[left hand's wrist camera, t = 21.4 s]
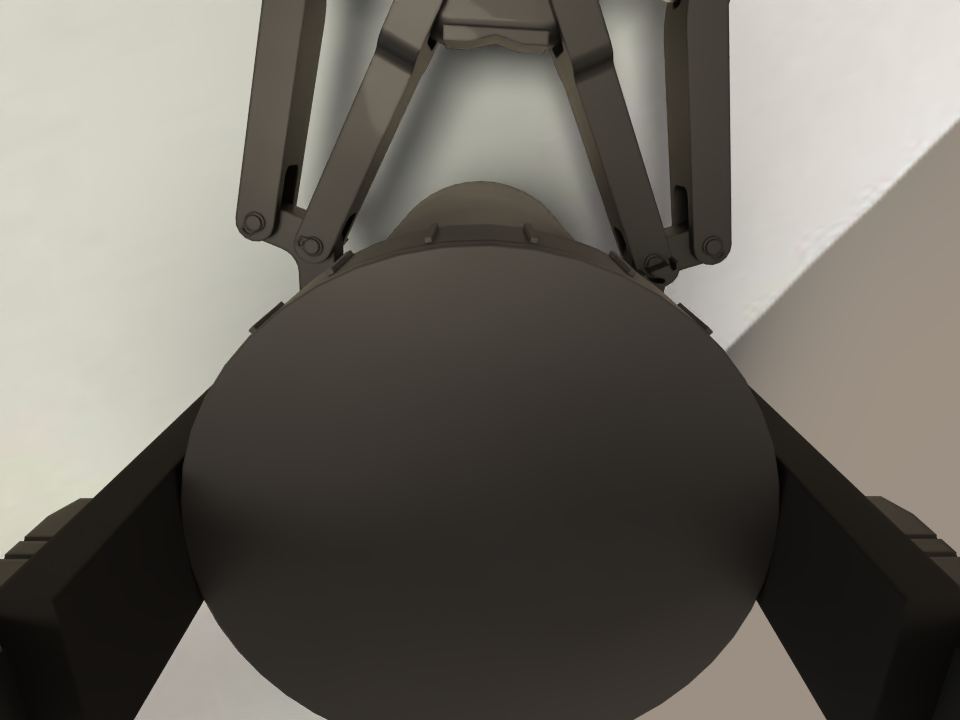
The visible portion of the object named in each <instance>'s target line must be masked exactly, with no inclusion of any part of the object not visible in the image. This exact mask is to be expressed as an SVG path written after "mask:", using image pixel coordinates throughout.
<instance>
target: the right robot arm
mask: <svg viewBox="0 0 960 720" xmlns="http://www.w3.org/2000/svg"><path fill="white" fill-rule="evenodd" d="M663 1H665V2H667V7H666V13H665V22H664V55H665V78H666V101H667V124H668V146H669V169H670V192H671V215H672V226H671V227H667V228H663V224H662V221H661V218H660V215H659V211H658V208H657V205H656V202H655V198H654V195H653V192H652V188H651V185H650V182H649V179H648V175H647V172H646V169H645V165H644V162H643V159H642V156H641V152H640V149H639V146H638V143H637V139H636V136H635V133H634V129H633V126H632V123H631V120H630V116H629V113H628V110H627V106H626V103H625V100H624V97H623V93H622V90H621V87H620V84H619V80H618V77H617V74H616V70H615V67H614V62H613V49H612V45H611V41H610V37H609V34H608V31H607V27H606V24H605V21H604V18H603V14H602V11H601V8H600V4H599V0H394V1H393V3H392V5H391V8H390V10H389V12H388V15H387V17H386V19H385V22H384V24H383V26H382V29H381V31H380V34H379V37H378V42H377V47H376V51H375V53H374V56H373V58H372V60H371V63H370V65H369V67H368V70H367V72H366V74H365V77H364V79H363V81H362V83H361V86H360V88H359V90H358V93H357V95H356V97H355V100H354V102H353V104H352V107H351V109H350V111H349V114H348V116H347V118H346V120H345V123H344V125H343V127H342V130H341V132H340V134H339V137H338V139H337V141H336V144H335V146H334V148H333V150H332V153H331V155H330V157H329V160H328V162H327V164H326V167H325V169H324V171H323V174H322V176H321V178H320V181H319V183H318V185H317V187H316V190H315V192H314V194H313V197H312V199H311V201H310V204H309V206H308V208H307V210H304V209H302V208H300V207H297V206H296V204H297V198H298V192H299V185H300V179H301V172H302V166H303V159H304V153H305V146H306V140H307V133H308V127H309V120H310V114H311V107H312V101H313V94H314V88H315V82H316V75H317V69H318V62H319V56H320V49H321V43H322V36H323V30H324V23H325V14H326V0H262V7H261V16H260V24H259V32H258V40H257V48H256V56H255V64H254V73H253V81H252V89H251V97H250V105H249V113H248V121H247V129H246V138H245V146H244V154H243V162H242V170H241V178H240V186H239V195H238V203H237V211H236V226H237V228H238V230H239V232H240V233H241V234H242V235H243V236H244V237H245V238H247V239H249V240H251V241H264V242H267V243H269V244H272V245H274V246H277V247H279V248H282V249H284V250H285V251H287V252H288V253H290V254H291V255H292V256H293V258H294V259H295V260H296V263H297V265H298V269H299V284H300V291H301V290H302V289H303V288H304V287H305V286H306V285H307V284H309V283H310V282H311V281H312V280H313V279H314V278H316V277H317V276H319V275H320V274H322V273H323V272H325V271H326V270H327V269H328V268H329V267H330V266H331V265H333V264H334V263H335V262H336V261H337V260H338V259H339V258H340V257H341V256H342V255H343V245H344V244H345V243H346V242H347V241H348V238H347V236H348V234H349V232H350V230H351V228H352V225H353V223H354V221H355V219H356V217H357V214H358V212H359V210H360V208H361V206H362V204H363V201H364V199H365V197H366V195H367V193H368V191H369V188H370V186H371V184H372V182H373V180H374V178H375V175H376V173H377V171H378V169H379V167H380V165H381V162H382V160H383V158H384V156H385V154H386V152H387V149H388V147H389V145H390V143H391V141H392V139H393V136H394V134H395V132H396V130H397V128H398V126H399V123H400V121H401V119H402V117H403V115H404V113H405V110H406V108H407V106H408V104H409V102H410V100H411V97H412V95H413V93H414V91H415V89H416V87H417V84H418V82H419V80H420V78H421V76H422V75H423V73H424V72H425V70H426V68H427V66H428V64H429V62H430V60H431V58H432V56H433V54H434V52H435V49H436V47H437V45H438V43H441V44H444V45H445V46H446V48H450V49H467V50H471V49H475V48H479V47H483V46H487V45H492V44H497V45H500V46H502V47H505V48H508V49H511V50H513V51H516V52H519V53H536V54H542V53H543V52H544V51H545V50H549V49H550V51H551V54H552V57H553V60H554V63H555V66H556V69H557V72H558V75H559V77H560V79H561V81H562V83H563V85H564V87H565V90H566V92H567V95H568V98H569V101H570V104H571V107H572V110H573V113H574V116H575V119H576V122H577V125H578V128H579V131H580V134H581V137H582V140H583V143H584V146H585V149H586V152H587V155H588V158H589V161H590V164H591V167H592V170H593V173H594V176H595V179H596V182H597V185H598V188H599V191H600V194H601V197H602V200H603V203H604V206H605V209H606V212H607V215H608V218H609V222H610V225H611V228H612V231H613V234H614V237H615V240H616V243H617V246H618V249H619V252H620V255H621V257H622V259H623V260H624V261H625V262H626V263H627V264H629V265H630V266H631V267H632V268H633V269H634V270H635V271H636V272H637V273H639V274H640V275H641V276H643V277H644V278H645V279H647V280H648V281H649V282H651V283H652V284H653V285H655V286H656V287H657V288H658V289H660V290H661V291H662V292H663V293H664V288H665V286H667V285H669V284H670V283H672V282H673V281H674V280H675V279H676V277H677V276H678V273H679V271H680V270H683V269H686V268H689V267H693V266H696V265H699V264H703V263H704V264H706V265H714V264H717V263H720V262H721V261H723V260H724V259H725V258H726V257H727V255H728V254H729V252H730V249H731V244H732V243H731V157H730V71H729V2H730V0H663Z"/></svg>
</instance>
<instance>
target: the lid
mask: <svg viewBox="0 0 960 720" xmlns="http://www.w3.org/2000/svg"><path fill="white" fill-rule="evenodd" d="M249 332H251V333H252V334H251V335H250V336H249V337H248V338H247V339H246V341H245V342H244V343H243V344H242V345H241V347H240V348H239V349H238V350H237V351H236V352H235V354H234V355H233V356H232V357H231V358H230V360H229V361H228V362H227V363H226V364H225V366H224V367H223V369H222V370H221V372H220V374H219V375H218V377H217V379H216V380H215V382H214V384H213V385H212V387H211V388H210V390H209V392H208V393H207V395H206V397H205V399H204V401H203V403H202V406H201V408H200V411H199V413H198V416H197V418H196V420H195V423H194V425H193V428H192V430H191V433H190V438H189V442H188V446H187V450H186V454H185V459H184V463H183V470H182V483H181V496H180V505H181V517H182V526H183V532H184V537H185V542H186V547H187V552H188V557H189V562H190V567H191V569H192V572H193V574H194V577H195V579H196V582H197V584H198V587H199V589H200V592H201V594H202V597H203V599H204V600H205V602H206V604H207V606H208V607H209V609H210V611H211V613H212V614H213V616H214V618H215V620H216V622H217V623H218V625H219V626H220V628H221V629H222V630H223V632H224V633H225V634H226V636H227V637H228V638H229V640H230V641H231V642H232V644H233V645H234V646H235V648H236V649H237V650H238V651H239V652H240V654H241V655H242V656H243V657H244V658H245V659H246V660H247V661H248V662H249V663H250V664H251V665H252V666H253V667H254V668H255V669H256V670H257V671H258V672H259V673H260V674H261V675H262V676H263V677H265V678H266V679H267V680H268V681H270V682H271V683H272V684H273V685H274V686H276V687H277V688H278V689H279V690H281V691H282V692H283V693H284V694H286V695H287V696H289V697H290V698H292V699H293V700H295V701H296V702H298V703H299V704H301V705H303V706H304V707H306V708H307V709H309V710H310V711H312V712H314V713H315V714H317V715H319V716H321V717H323V718H325V719H327V720H634V719H636V718H637V717H639V716H641V715H643V714H644V713H646V712H648V711H650V710H651V709H653V708H655V707H657V706H658V705H660V704H662V703H663V702H665V701H666V700H667V699H669V698H670V697H671V696H673V695H674V694H676V693H677V692H678V691H680V690H681V689H682V688H684V687H685V686H687V685H688V684H689V683H690V682H691V681H692V680H693V679H695V678H696V677H697V676H698V675H699V674H700V673H701V672H702V671H703V670H704V669H705V668H706V667H708V666H709V665H710V664H711V663H712V662H713V661H714V660H715V658H716V657H717V656H718V655H719V654H720V652H721V651H722V650H723V649H724V648H725V647H726V645H727V644H728V643H729V642H730V641H731V640H732V638H733V637H734V636H735V634H736V632H737V631H738V629H739V628H740V626H741V625H742V623H743V622H744V620H745V619H746V617H747V616H748V614H749V613H750V611H751V609H752V607H753V605H754V603H755V601H756V599H757V597H758V594H759V592H760V590H761V588H762V586H763V584H764V582H765V579H766V576H767V573H768V569H769V566H770V563H771V559H772V555H773V550H774V545H775V539H776V534H777V529H778V523H779V517H780V483H779V475H778V469H777V463H776V457H775V451H774V446H773V443H772V440H771V437H770V434H769V431H768V428H767V425H766V422H765V419H764V416H763V413H762V411H761V409H760V407H759V405H758V403H757V401H756V399H755V397H754V395H753V393H752V391H751V390H750V388H749V386H748V384H747V382H746V380H745V378H744V377H743V376H742V374H741V373H740V372H739V370H738V369H737V368H736V366H735V365H734V364H733V362H732V361H731V359H730V358H729V357H728V355H727V354H726V353H725V351H724V350H723V349H722V348H721V347H720V346H719V345H718V343H717V342H716V341H715V340H714V339H713V338H712V337H711V336H710V334H711V333H713V331H712V330H711V329H710V328H709V327H708V326H707V325H706V324H704V323H703V322H702V321H701V320H700V319H699V318H697V317H696V316H695V315H694V314H693V313H692V312H690V311H689V310H688V309H687V308H686V307H685V306H683V305H682V304H681V303H679V304H678V305H677V304H675V303H674V302H673V301H672V300H671V299H670V298H669V297H668V296H666V295H665V294H664V293H663V292H662V291H661V290H660V289H658V288H657V287H656V286H655V285H653V284H652V283H651V282H649V281H648V280H647V279H645V278H644V277H643V276H641V275H640V274H639V273H637V272H636V271H635V270H634V269H633V268H632V267H631V266H630V265H629V264H627V263H626V262H625V261H624V260H623V259H622V258H621V257H620V256H619V255H617V254H616V253H615V252H613V251H611V252H610V254H609V255H607V254H605V253H604V252H602V251H600V250H598V249H596V248H593V247H590V246H588V245H585V244H582V243H580V242H577V241H575V240H572V239H569V238H567V237H564V236H560V235H556V234H552V233H548V232H543V231H539V230H535V229H533V227H532V226H531V224H529V223H524V227H515V226H505V225H494V224H474V225H450V226H444V227H438V223H432V224H431V226H430V227H429V229H426V230H421V231H415V232H411V233H408V234H405V235H401V236H398V237H395V238H392V239H389V240H385V241H382V242H379V243H376V244H374V245H372V246H370V247H368V248H366V249H364V250H362V251H359V252H357V253H355V254H353V253H352V251H351V250H350V251H348V252H346V253H345V254H344V255H342V256H341V257H340V258H339V259H338V260H337V261H336V262H335V263H334V264H333V265H331V266H330V267H329V268H328V269H327V270H326V271H325V272H323V273H322V274H320V275H319V276H317V277H316V278H314V279H313V280H312V281H311V282H310V283H309V284H307V285H306V286H305V287H304V288H303V289H302V290H301V291H299V292H298V293H297V294H296V295H295V296H294V297H293V298H291V299H290V300H289V301H288V302H287V303H286V304H284V303H283V302H280V303H279V304H278V305H277V306H276V307H274V308H273V309H272V310H271V311H270V312H269V313H267V314H266V315H265V316H264V317H263V318H262V319H260V320H259V321H258V322H257V323H256V324H255V325H253V326H252V327H251V328H250V330H249Z"/></svg>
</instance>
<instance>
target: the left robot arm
mask: <svg viewBox="0 0 960 720" xmlns="http://www.w3.org/2000/svg"><path fill="white" fill-rule="evenodd" d="M748 386H749V385H748ZM211 387H212V386H211ZM211 387H210V388H211ZM210 388H209V389H208V390H206V391H205V392H204V393H203V394H202V395H201V396H200V397H199V398H198V399H197V400H196V401H195V402H194V403H193V404H192V405H191V406H190V407H189V408H188V409H186V410H185V411H184V412H183V413H182V414H181V415H180V416H179V417H178V418H177V419H176V420H175V421H174V422H173V423H172V424H171V425H170V426H169V427H168V428H166V429H165V430H164V431H163V432H162V433H161V434H160V435H159V436H158V437H157V438H156V439H155V440H154V441H153V442H152V443H151V444H150V445H149V446H148V447H146V448H145V449H144V450H143V451H142V452H141V453H140V454H139V455H138V456H137V457H136V458H135V459H134V460H133V461H132V462H131V463H130V464H129V465H128V466H127V467H125V468H124V469H123V470H122V471H121V472H120V473H119V474H118V475H117V476H116V477H115V478H114V479H113V480H112V481H111V482H110V483H109V484H108V485H107V486H105V487H104V488H103V489H102V490H101V491H100V492H99V493H98V494H97V495H96V496H95V497H94V498H80V499H78V500H76V501H75V502H73V503H71V504H69V505H67V506H66V507H64V508H62V509H60V510H58V511H56V512H55V513H53V514H51V515H49V516H48V517H46V518H45V519H44V520H43V521H42V522H41V523H40V524H39V525H38V526H36V527H35V528H34V529H33V530H32V531H31V532H30V533H29V534H27V535H26V536H25V539H24V541H20V542H18V543H17V544H16V545H15V546H14V547H13V548H12V549H11V550H10V551H8V552H7V553H6V554H5V558H4V559H0V720H134V718H135V717H136V715H137V713H138V712H139V710H140V708H141V707H142V705H143V703H144V701H145V700H146V698H147V696H148V695H149V693H150V691H151V690H152V688H153V686H154V684H155V683H156V681H157V679H158V678H159V676H160V674H161V673H162V671H163V669H164V667H165V666H166V664H167V662H168V661H169V659H170V657H171V655H172V654H173V652H174V650H175V649H176V647H177V645H178V644H179V642H180V640H181V638H182V637H183V635H184V633H185V632H186V630H187V628H188V627H189V625H190V623H191V621H192V620H193V618H194V616H195V615H196V613H197V611H198V610H199V608H200V606H201V604H202V603H203V601H204V599H203V597H202V594H201V592H200V589H199V587H198V584H197V582H196V579H195V577H194V574H193V572H192V569H191V567H190V562H189V557H188V552H187V547H186V542H185V537H184V532H183V526H182V517H181V505H180V496H181V483H182V470H183V463H184V459H185V454H186V450H187V446H188V442H189V438H190V433H191V430H192V428H193V425H194V423H195V420H196V418H197V416H198V413H199V411H200V408H201V406H202V403H203V401H204V399H205V397H206V395H207V393H208V392H209V390H210ZM749 388H750V390H751V391H752V393H753V395H754V397H755V399H756V401H757V403H758V405H759V407H760V409H761V411H762V413H763V416H764V419H765V422H766V425H767V428H768V431H769V434H770V437H771V440H772V443H773V446H774V451H775V457H776V463H777V469H778V475H779V483H780V517H779V523H778V529H777V534H776V539H775V545H774V550H773V555H772V559H771V563H770V566H769V569H768V573H767V576H766V579H765V582H764V584H763V586H762V588H761V590H760V592H759V594H758V597H757V599H756V600H757V602H758V604H759V605H760V607H761V609H762V611H763V612H764V614H765V616H766V617H767V619H768V621H769V622H770V624H771V626H772V628H773V629H774V631H775V633H776V634H777V636H778V638H779V640H780V641H781V643H782V645H783V646H784V648H785V650H786V651H787V653H788V655H789V656H790V658H791V660H792V662H793V663H794V665H795V667H796V668H797V670H798V672H799V673H800V675H801V677H802V679H803V680H804V682H805V684H806V685H807V687H808V689H809V691H810V692H811V694H812V696H813V697H814V699H815V701H816V702H817V704H818V706H819V708H820V709H821V711H822V713H823V714H824V716H825V718H826V719H827V720H960V557H957V555H956V552H955V551H954V550H953V549H952V548H951V547H950V546H949V545H948V544H946V543H945V542H944V541H943V540H942V539H937V535H936V534H935V533H934V532H933V531H932V530H931V529H929V528H928V527H927V526H926V525H925V524H924V523H923V522H922V521H920V520H919V519H918V518H917V517H916V516H915V515H914V514H912V513H910V512H909V511H907V510H905V509H903V508H901V507H899V506H898V505H896V504H894V503H892V502H890V501H888V500H887V499H885V498H883V497H881V496H864V495H863V494H862V493H861V492H860V491H859V490H858V489H857V488H856V487H855V486H854V485H853V484H852V483H851V482H850V481H849V480H848V479H846V478H845V477H844V476H843V475H842V474H841V473H840V472H839V471H838V470H837V469H836V468H835V467H834V466H833V465H832V464H831V463H830V462H829V461H828V460H827V459H826V458H824V457H823V456H822V455H821V454H820V453H819V452H818V451H817V450H816V449H815V448H814V447H813V446H812V445H811V444H810V443H809V442H808V441H807V440H806V439H804V438H803V437H802V436H801V435H800V434H799V433H798V432H797V431H796V430H795V429H794V428H793V427H792V426H791V425H790V424H789V423H788V422H787V421H786V420H784V419H783V418H782V417H781V416H780V415H779V414H778V413H777V412H776V411H775V410H774V409H773V408H772V407H771V406H770V405H769V404H768V403H766V401H764V400H763V399H762V398H761V397H760V396H759V395H758V394H757V393H756V392H755V391H754V390H753V389H752V388H751V387H750V386H749Z"/></svg>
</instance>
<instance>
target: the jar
mask: <svg viewBox="0 0 960 720" xmlns="http://www.w3.org/2000/svg"><path fill="white" fill-rule="evenodd" d="M432 223H438V227H444V226H450V225H474V224H494V225H505V226H515V227H524V223H529V224H531V226H532V227H533V229H535V230H539V231H543V232H548V233H552V234H556V235H560V236H564V237H567V238H569V239H572V240H574V239H573V238H572V237H571V235H570V234H569V233H568V232H567V231H566V230H565V229H564V227H563V226H562V225H561V224H560V223H559V222H558V220H557V219H556V218H555V217H554V216H553V215H552V213H551V212H550V211H549V210H548V209H547V208H546V207H544V206H543V205H542V204H541V203H540V202H539V201H537V200H536V199H534V198H533V197H532V196H530V195H528V194H526V193H525V192H523V191H521V190H519V189H516V188H513V187H511V186H508V185H504V184H499V183H495V182H483V181H478V182H466V183H461V184H456V185H453V186H450V187H447V188H444V189H442V190H440V191H438V192H436V193H434V194H432V195H430V196H429V197H427V198H426V199H424V200H423V201H422V202H420V203H419V204H418V205H417V206H416V207H415V208H414V209H413V210H411V212H410V213H409V214H408V215H407V216H406V217H405V219H404V220H403V221H402V222H401V223H400V224H399V226H398V227H397V228H396V229H395V230H394V231H393V232H392V234H391V235H390V236H389V237H388V238H387V239H386V240H389V239H392V238H395V237H398V236H401V235H405V234H408V233H411V232H415V231H421V230H426V229H429V227H430V226H431V224H432Z"/></svg>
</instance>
